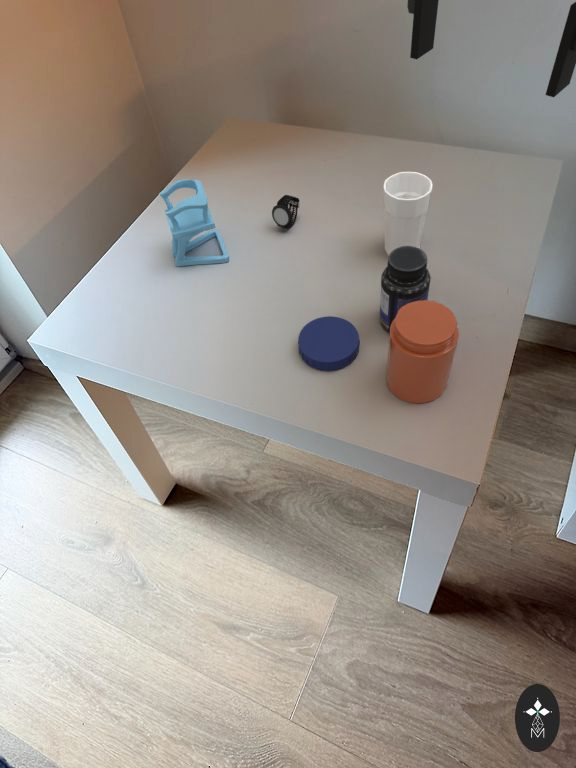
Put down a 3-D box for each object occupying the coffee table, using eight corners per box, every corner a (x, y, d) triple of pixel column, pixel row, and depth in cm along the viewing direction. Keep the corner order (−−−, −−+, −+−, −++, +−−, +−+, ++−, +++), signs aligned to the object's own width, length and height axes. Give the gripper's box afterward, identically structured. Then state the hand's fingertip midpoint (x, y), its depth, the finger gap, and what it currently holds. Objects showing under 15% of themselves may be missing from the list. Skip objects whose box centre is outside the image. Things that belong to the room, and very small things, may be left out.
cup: (424, 235, 84) (432, 171, 75) (424, 264, 80) (432, 200, 71) (381, 234, 85) (384, 171, 76) (379, 262, 81) (382, 200, 72)
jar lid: (363, 367, 70) (364, 358, 68) (302, 375, 70) (301, 366, 68) (354, 321, 75) (354, 312, 73) (296, 329, 75) (295, 320, 73)
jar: (459, 375, 68) (474, 317, 59) (424, 414, 65) (435, 359, 56) (409, 346, 71) (417, 287, 63) (373, 382, 68) (376, 325, 60)
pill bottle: (431, 313, 74) (442, 250, 65) (412, 343, 71) (421, 281, 62) (390, 298, 76) (395, 236, 68) (370, 327, 74) (373, 265, 65)
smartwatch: (270, 226, 89) (266, 200, 85) (295, 213, 90) (292, 186, 86) (285, 238, 87) (282, 211, 83) (310, 224, 88) (308, 197, 84)
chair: (170, 246, 88) (148, 181, 79) (218, 232, 89) (202, 166, 79) (178, 276, 84) (156, 211, 74) (230, 261, 85) (214, 195, 75)
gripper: (831, -347, 27) (646, 88, 44) (416, -306, 39) (396, 26, 56) (781, -329, 24) (604, 128, 41) (350, -290, 36) (350, 55, 53)
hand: (485, 70), depth 48 cm, fingers open, 13 cm apart
